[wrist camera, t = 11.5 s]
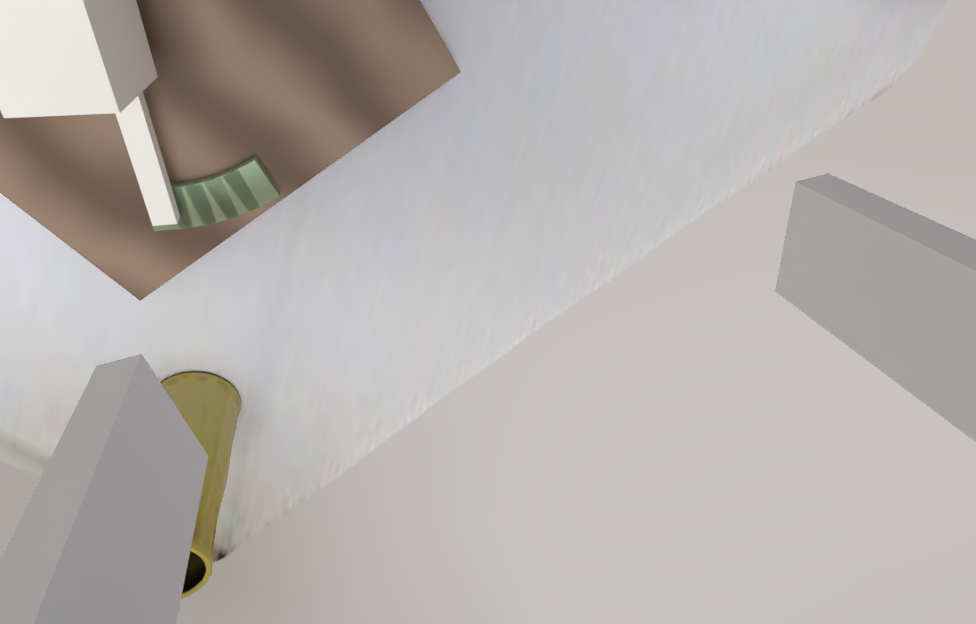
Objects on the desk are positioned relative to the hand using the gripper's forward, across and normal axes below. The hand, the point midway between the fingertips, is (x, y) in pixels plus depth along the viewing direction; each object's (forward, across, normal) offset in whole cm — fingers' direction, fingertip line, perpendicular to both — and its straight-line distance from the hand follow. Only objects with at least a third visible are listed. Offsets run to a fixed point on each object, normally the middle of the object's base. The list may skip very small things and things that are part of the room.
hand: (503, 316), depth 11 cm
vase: (+27, -19, -20) cm, 38 cm away
